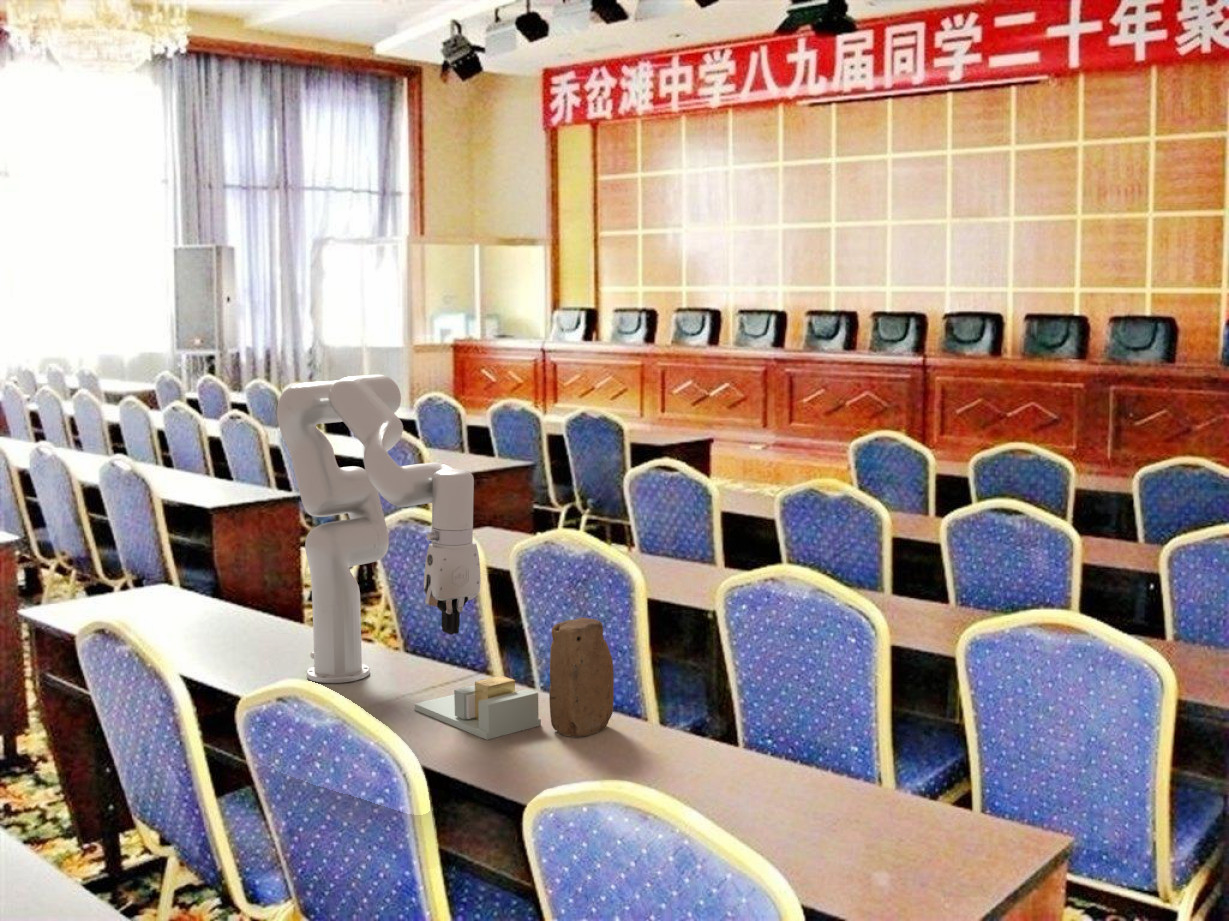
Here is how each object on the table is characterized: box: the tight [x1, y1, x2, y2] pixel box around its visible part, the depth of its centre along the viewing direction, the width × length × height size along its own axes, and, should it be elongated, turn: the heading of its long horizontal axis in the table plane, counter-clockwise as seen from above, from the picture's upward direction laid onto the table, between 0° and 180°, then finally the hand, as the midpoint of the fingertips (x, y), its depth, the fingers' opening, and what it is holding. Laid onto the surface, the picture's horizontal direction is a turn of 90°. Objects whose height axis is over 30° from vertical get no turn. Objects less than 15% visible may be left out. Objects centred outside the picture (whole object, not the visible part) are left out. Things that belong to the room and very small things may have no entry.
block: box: [548, 616, 615, 738], centre depth 246 cm, size 11×8×20 cm
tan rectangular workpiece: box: [474, 675, 516, 721], centre depth 250 cm, size 4×6×7 cm, turn 131°
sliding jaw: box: [453, 684, 475, 719], centre depth 253 cm, size 4×10×5 cm, turn 131°
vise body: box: [414, 688, 542, 741], centre depth 254 cm, size 23×12×6 cm, turn 41°
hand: (450, 632), depth 259 cm, fingers closed
